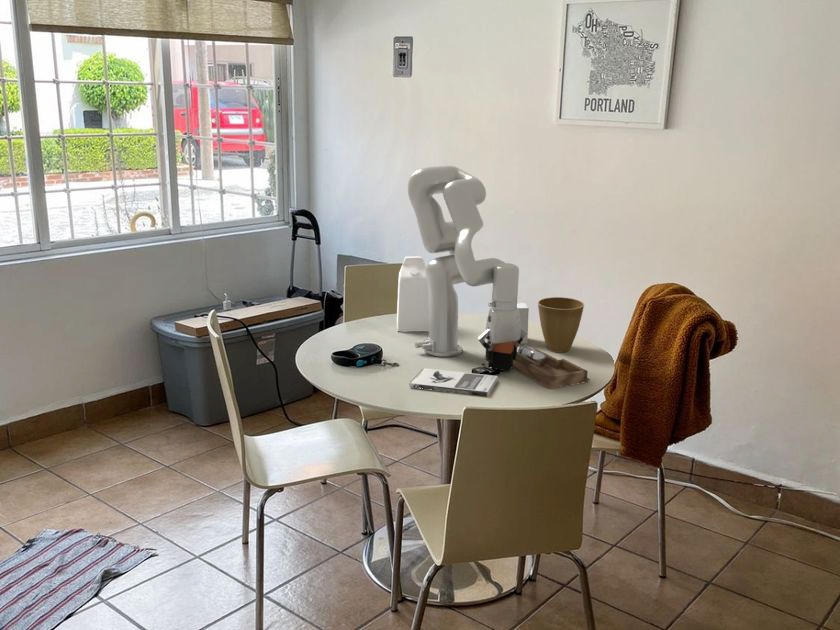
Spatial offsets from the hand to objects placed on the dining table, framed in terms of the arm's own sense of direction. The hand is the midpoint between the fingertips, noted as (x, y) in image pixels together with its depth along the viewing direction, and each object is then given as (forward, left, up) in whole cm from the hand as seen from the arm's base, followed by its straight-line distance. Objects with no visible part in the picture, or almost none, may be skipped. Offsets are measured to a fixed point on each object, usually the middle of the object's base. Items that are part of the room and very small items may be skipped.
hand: (500, 359), depth 239 cm
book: (-19, -5, -4) cm, 20 cm away
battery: (0, 0, -3) cm, 3 cm away
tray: (+11, -7, -3) cm, 14 cm away
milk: (-5, +54, -3) cm, 54 cm away
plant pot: (+28, +10, -3) cm, 30 cm away
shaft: (+11, 0, -2) cm, 11 cm away
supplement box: (+20, +24, -3) cm, 32 cm away
